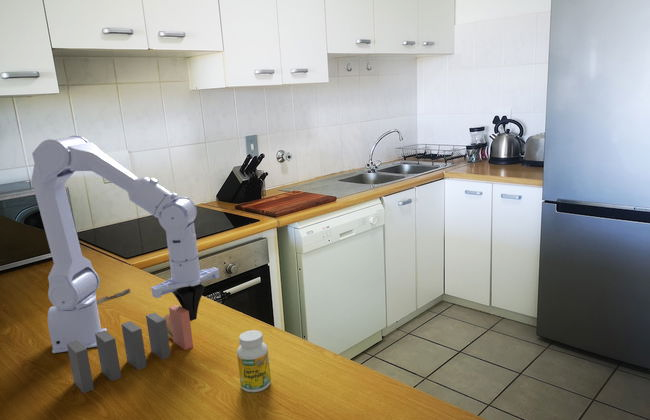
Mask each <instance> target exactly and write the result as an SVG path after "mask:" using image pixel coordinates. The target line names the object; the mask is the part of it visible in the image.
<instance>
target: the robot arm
mask: <svg viewBox="0 0 650 420" xmlns="http://www.w3.org/2000/svg"><path fill="white" fill-rule="evenodd" d="M31 153H32V158H33V163H34V166H33V170H32V175H31V184H32V188H33V191H34V194H35V198H36V202H37V206H38V209H39V212H40V217H41V221H42V224H43V228H44V231H45V232H44V233H45V235H46V240H47V243H48V247H49V250H50V254H51V257H52V261H53V265H52V268H51V270H50V272H49V274H48V276H47V281H48V286H49V287H48V291H47V295H48V296H47V297H48V299H49V301H50V303H51V304H52V305H53V306H50V307H49V309H48V311H47V326H48V332H49V338H50V342H51V346H52V350H51V353H52V354H57V353H64V352H68V348H67V343H70V342H73V341H76V340H78V341H79V342H80V343H81V344H82V345H83V346H84V347H85V348H86V349H89V348H90V349H91V348H96V347H97V343H96V337H95V333H98V332H101V331H104V330H105V331H106V332H107V331H108V330H107V328H105V327H104V328H102V325H101V321H100V313H99V309H98V305H97V302H96V301H97V298H96V297H97V292H96V291H97V290H98V289H99V287H100V283H101V281H100V277H99V274H98V272H96V270H95V269H94V266H93V265H92V262H91V260H89V258H86V257H85V256H83V253H82V249H81V245H80V241H79V237H78V232H77V229H76V226H75V222H74V218H73V213H72V210H71V206H70V205H71V204H70V202H69V199H68V194H67V189H66V187H65V185H66V183H67V182H68V180H69V179H70V178H71V176H72V175H73V174H74V173H76V172H93V173H94V174H96V175H98V176H100V177H101V178H103V179H105V180H106V181H109V183H111V184H114V185H116V186H117V187H119V188H121V189H122V190H124V191H126V192H127V194H128V198H129V200H130V202H132V203H133V204H135V205H137V206H138V207H139V208H141V209H143V210H144V211H146V212H148V213H149V214H150V215H152V216H153V217H155V218H157V219H158V223H159V225H160V226H161V228H163V230H164V231H165V235H166V243H167V252H168V258H169V266H170V274H171V278H168V279H167V280H165V281H163V282H161V283H158V284H156V285H153V286H151V287H150V290H151V296H152V297H154V298H155V299H160V298H162V296H164V295H167V294H168V295H169V294H171V293H172V294H173V296H174V297H175V298H176V299H177V301H178V302H179V304H180V307H182V308H184V309H186V310H188V311H189V317H190V322H192V321H195V320H197V318H198V317H197V316H198V310H199V305H200V302H201V298H202V296H203V294H204V292H205V286H204V285H203V284H202V283H203V282H207V281H209V280H212V279H219V278H220V269H219V268H217V267H216V266H215V267H211V268H205V269H200V260H199V252H198V243H197V235H196V227H195V222H194V221H195V219H196V217H197V215H198V209H197V207H196V204H195V203H194V202H193V201H192V200H191V199H190V198H189V197H187V196H179V194H177V193H176V192H171V191H170V190H168V189H167V188H165V187H163V186H162V185H160V184H159V183H158V182H159V180H158V179H156V178H154V177H151V178H149V177H148V176H144V177H143V176H142V177H138V176H136V175H135V174H133V173H132V172H131V171H129V170H128V169H127V168H125V167H124V166H122V165H121V164H120V163H118V162H117V161H116V160H114V159H113V158H112V157H110V156H109V155H107V154H106V153H104V152H103V151H102V150H101V149H100V148H99V147H98V146H97V145H96V144H95V143H93V142H91V141H89V140H88V139H86V138H85V137H83V136H81V135H72V136H68V137H61V138H55V139H52V138H51V139H46V140H43V141H42V142H40V144H38V146H37V147H36V148H35V149H34V150H33V152H31Z"/></svg>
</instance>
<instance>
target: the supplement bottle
mask: <svg viewBox="0 0 650 420" xmlns="http://www.w3.org/2000/svg"><path fill="white" fill-rule="evenodd" d="M238 339H239V340H238V341H239V346H238V348H237V351H236V356H237V357H236V358H237V362H238V363H237V364H238V365H237V366H238V373H239V381H240V383H239V384H240V387H241V389H242V390H243V391H244V392H247V393H259V392H262V391H264V390H266V389H268V387H269V386H270V385H271V383H272V380H271V378H272V377H271V368H270V367H271V366H270V357H269V348H268V345H267V344H266V343H265V342H264V338H263V332H262V331H260V330H257V329H256V330H255V329H254V330H253V329H252V330H247V331H243V332H242V333H240V335H239V337H238Z"/></svg>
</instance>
